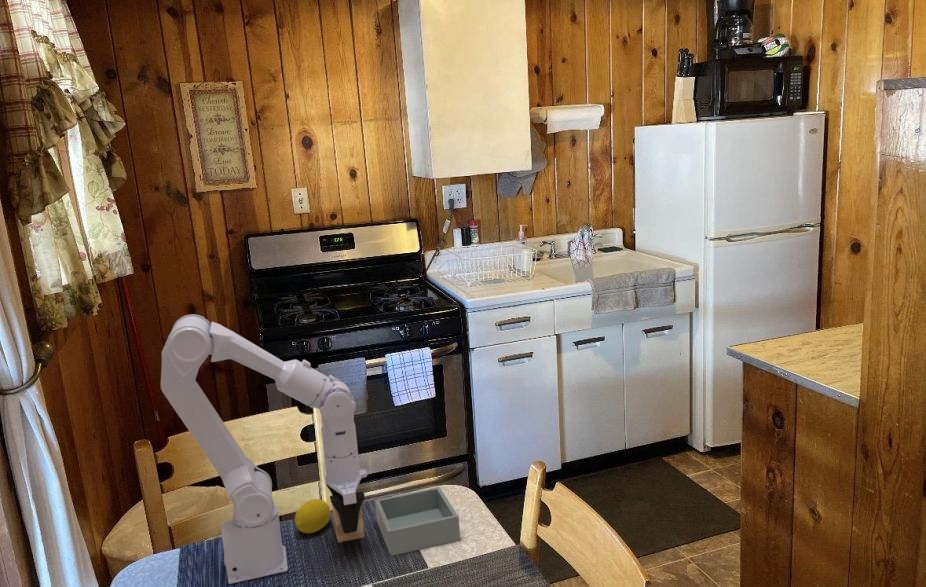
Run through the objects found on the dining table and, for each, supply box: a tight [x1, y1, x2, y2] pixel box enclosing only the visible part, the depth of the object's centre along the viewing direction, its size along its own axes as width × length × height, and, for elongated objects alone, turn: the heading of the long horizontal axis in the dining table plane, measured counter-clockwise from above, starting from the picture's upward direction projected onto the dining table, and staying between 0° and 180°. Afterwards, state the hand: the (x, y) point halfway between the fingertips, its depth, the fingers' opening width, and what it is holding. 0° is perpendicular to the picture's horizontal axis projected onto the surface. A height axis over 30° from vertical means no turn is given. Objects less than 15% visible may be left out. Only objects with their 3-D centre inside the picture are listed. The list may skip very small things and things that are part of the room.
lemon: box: [294, 498, 332, 534], centre depth 130 cm, size 6×6×8 cm
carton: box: [331, 504, 365, 543], centre depth 123 cm, size 4×4×6 cm
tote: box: [374, 486, 461, 557], centre depth 127 cm, size 12×12×4 cm
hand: (348, 524), depth 123 cm, fingers closed on carton, 4 cm apart
